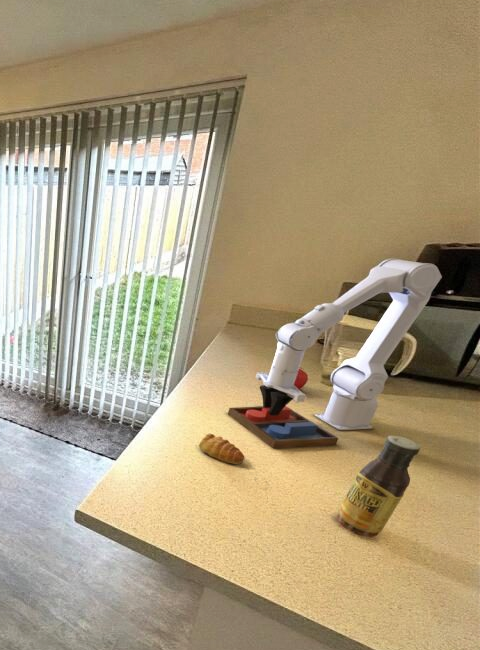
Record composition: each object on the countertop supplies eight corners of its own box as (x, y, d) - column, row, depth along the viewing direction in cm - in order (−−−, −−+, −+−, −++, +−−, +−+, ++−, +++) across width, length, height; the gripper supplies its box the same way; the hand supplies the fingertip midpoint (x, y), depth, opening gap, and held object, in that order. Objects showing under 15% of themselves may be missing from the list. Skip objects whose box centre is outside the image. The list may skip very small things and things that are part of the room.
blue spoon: (304, 428, 105) (307, 419, 104) (318, 438, 101) (322, 428, 100) (263, 430, 105) (266, 421, 103) (275, 440, 101) (279, 430, 99)
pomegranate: (305, 397, 123) (315, 370, 119) (266, 390, 128) (274, 364, 124) (301, 385, 131) (310, 359, 127) (264, 379, 136) (272, 354, 132)
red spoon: (280, 413, 113) (283, 404, 112) (292, 421, 109) (295, 412, 108) (241, 415, 112) (244, 406, 111) (252, 423, 108) (255, 413, 107)
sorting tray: (282, 411, 115) (284, 405, 114) (336, 445, 99) (339, 438, 99) (227, 413, 115) (229, 407, 114) (273, 448, 99) (275, 441, 98)
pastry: (248, 459, 95) (252, 446, 93) (233, 469, 92) (237, 456, 90) (209, 441, 102) (212, 429, 101) (194, 449, 99) (197, 437, 97)
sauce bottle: (326, 516, 78) (364, 431, 70) (355, 513, 78) (396, 428, 70) (359, 542, 72) (404, 452, 64) (390, 539, 72) (439, 450, 64)
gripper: (251, 358, 111) (239, 400, 116) (292, 380, 98) (276, 426, 103) (275, 357, 111) (261, 399, 117) (319, 379, 98) (302, 425, 103)
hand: (270, 412), depth 110 cm, fingers closed on red spoon, 2 cm apart
